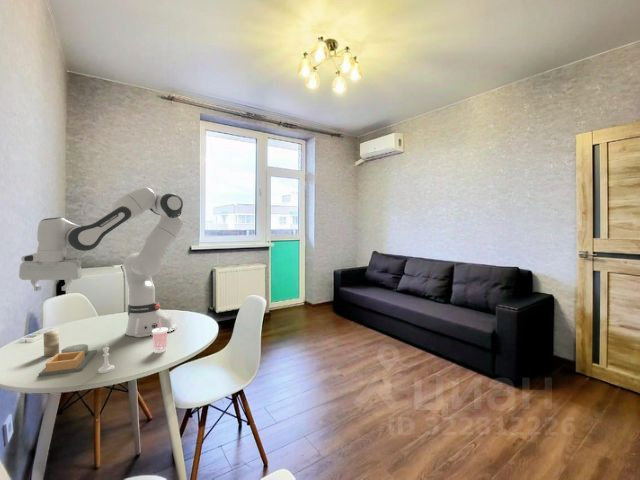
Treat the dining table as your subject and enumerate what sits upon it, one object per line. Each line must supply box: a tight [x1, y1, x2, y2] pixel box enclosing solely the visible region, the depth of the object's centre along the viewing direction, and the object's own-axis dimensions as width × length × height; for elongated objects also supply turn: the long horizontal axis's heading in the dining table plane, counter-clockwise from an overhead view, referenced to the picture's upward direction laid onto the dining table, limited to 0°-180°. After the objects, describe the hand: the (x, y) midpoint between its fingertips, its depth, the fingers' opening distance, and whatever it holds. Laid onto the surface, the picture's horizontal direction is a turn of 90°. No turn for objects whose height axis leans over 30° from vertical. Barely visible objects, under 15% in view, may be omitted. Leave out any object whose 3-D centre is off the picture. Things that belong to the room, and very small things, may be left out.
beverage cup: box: [152, 318, 168, 354], centre depth 123 cm, size 6×6×14 cm
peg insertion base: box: [38, 343, 98, 378], centre depth 111 cm, size 12×17×4 cm
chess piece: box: [97, 342, 115, 374], centre depth 106 cm, size 5×5×10 cm
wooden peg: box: [43, 330, 60, 358], centre depth 118 cm, size 4×4×9 cm
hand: (51, 290), depth 119 cm, fingers open, 8 cm apart
